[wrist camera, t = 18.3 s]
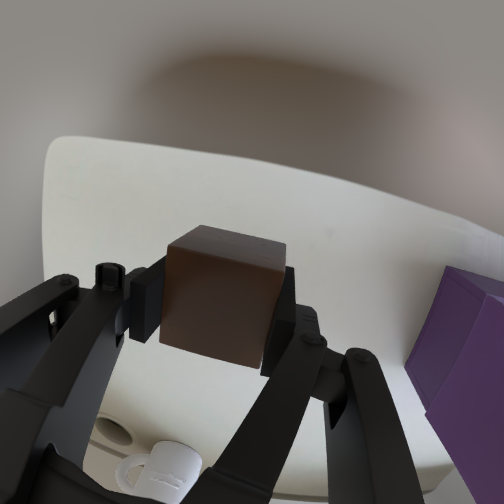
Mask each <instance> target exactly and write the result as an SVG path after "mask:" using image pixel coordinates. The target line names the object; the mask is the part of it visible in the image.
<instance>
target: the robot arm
mask: <svg viewBox="0 0 504 504" xmlns="http://www.w3.org/2000/svg"><path fill="white" fill-rule="evenodd" d="M166 256H167V255H166ZM166 256H164V257H163V258H161V259H160V260H159V261H157V262H156V263H154V264H153V265H152V266H150V267H149V268H145V267H140V268H137V269H134V270H132V271H131V272H129V273H128V274H126V275H125V267H124V266H122V265H120V264H117V263H109V262H108V263H101V264H98V265H96V273H95V285H94V287H93V288H92V289H87V288H80V287H79V279H78V278H77V277H75V276H73V275H70V274H62V275H57V276H54V277H53V278H51V279H49V280H47V281H45V282H43V283H42V284H40V285H38V286H36V287H34V288H33V289H31V290H29V291H27V292H25V293H24V294H22V295H20V296H18V297H17V298H15V299H13V300H12V301H10V302H8V303H6V304H5V305H3V306H1V307H0V504H166V503H163V502H160V501H157V500H154V499H152V498H145V497H139V496H133V495H128V494H123V493H118V492H114V491H109V490H107V489H105V488H103V487H102V486H101V485H99V484H98V483H97V482H95V481H94V480H93V479H92V478H90V477H89V476H88V475H87V474H86V473H85V472H83V460H84V456H85V452H86V449H87V446H88V442H89V439H90V436H91V433H92V429H93V426H94V423H95V420H96V417H97V414H98V411H99V408H100V405H101V402H102V399H103V396H104V393H105V391H106V388H107V385H108V382H109V380H110V377H111V374H112V371H113V369H114V366H115V363H116V361H117V358H118V356H119V353H120V351H121V348H122V345H123V343H124V332H125V331H126V330H127V329H128V328H129V338H130V339H133V340H136V341H139V342H142V343H145V342H146V341H147V340H148V339H149V337H150V336H151V335H152V334H153V333H154V331H155V330H156V329H157V328H158V326H159V325H160V323H161V309H162V297H163V286H164V276H165V264H166ZM52 312H54V322H53V323H50V319H49V315H50V314H51V313H52ZM260 375H261V376H266V377H270V378H269V380H268V381H267V383H266V385H265V386H264V388H263V390H262V391H261V393H260V395H259V396H258V398H257V400H256V401H255V403H254V404H253V406H252V408H251V409H250V411H249V413H248V414H247V416H246V417H245V419H244V420H243V422H242V424H241V425H240V427H239V428H238V430H237V431H236V433H235V435H234V436H233V438H232V439H231V441H230V442H229V444H228V445H227V447H226V448H225V450H224V451H223V453H222V454H221V456H220V457H219V459H218V460H217V461H216V463H215V464H214V465H213V466H212V467H208V468H207V469H205V470H204V472H203V473H202V474H201V475H200V477H199V478H198V479H197V481H196V482H195V483H194V485H193V486H192V487H191V489H190V490H189V491H188V493H187V494H186V495H185V497H184V498H183V499H182V501H181V502H180V503H179V504H269V501H270V499H271V497H272V494H273V489H274V487H275V484H276V482H277V480H278V478H279V475H280V473H281V471H282V468H283V466H284V464H285V461H286V459H287V457H288V454H289V452H290V449H291V447H292V444H293V442H294V439H295V437H296V434H297V432H298V429H299V426H300V424H301V421H302V418H303V416H304V413H305V410H306V407H307V405H308V402H309V399H310V396H311V397H314V398H316V399H319V400H321V401H324V404H323V408H324V421H325V435H326V451H327V470H328V496H329V504H425V503H424V499H423V495H422V491H421V488H420V484H419V480H418V477H417V473H416V470H415V466H414V463H413V460H412V456H411V453H410V450H409V447H408V443H407V440H406V437H405V434H404V431H403V428H402V425H401V422H400V419H399V416H398V413H397V410H396V407H395V405H394V402H393V399H392V396H391V393H390V391H389V388H388V385H387V382H386V380H385V377H384V374H383V372H382V369H381V367H380V364H379V361H378V359H377V358H376V356H375V355H374V354H372V353H371V352H370V351H367V350H366V349H361V348H350V349H348V350H347V351H346V353H345V355H343V354H340V353H337V352H335V351H333V350H331V349H329V348H327V340H326V339H325V337H323V336H322V335H321V334H320V330H319V324H318V319H317V313H316V311H315V310H314V309H313V308H312V307H309V306H304V305H300V304H296V300H295V276H294V268H293V267H288V266H285V276H284V280H283V284H282V287H281V291H280V295H279V298H278V300H277V304H276V308H275V312H274V316H273V319H272V323H271V327H270V331H269V334H268V338H267V342H266V345H265V349H264V354H263V360H262V366H261V373H260Z"/></svg>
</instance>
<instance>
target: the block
mask: <svg viewBox="0 0 504 504" xmlns="http://www.w3.org/2000/svg"><path fill="white" fill-rule="evenodd" d="M285 263H286V244H285V243H281V242H276V241H272V240H267V239H263V238H259V237H254V236H250V235H245V234H241V233H236V232H232V231H227V230H223V229H218V228H213V227H209V226H204V225H199V226H198V227H196V228H195V229H193V230H191V231H190V232H188V233H186V234H185V235H183V236H182V237H180V238H178V239H177V240H175V241H174V242H172V243H171V244H169V245H168V247H167V256H166V264H165V276H164V286H163V297H162V309H161V323H160V335H159V342H160V343H162V344H166V345H169V346H172V347H175V348H179V349H182V350H185V351H189V352H192V353H196V354H199V355H203V356H207V357H210V358H214V359H218V360H222V361H226V362H230V363H234V364H238V365H242V366H247V367H251V368H255V369H259V368H260V365H261V362H262V358H263V354H264V349H265V345H266V342H267V338H268V334H269V331H270V327H271V323H272V319H273V316H274V312H275V308H276V304H277V300H278V298H279V295H280V291H281V287H282V284H283V280H284V276H285Z"/></svg>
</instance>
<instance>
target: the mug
mask: <svg viewBox="0 0 504 504" xmlns="http://www.w3.org/2000/svg"><path fill="white" fill-rule="evenodd" d="M142 464H145V466H144V468H143V470H142V472H141V474H140V476H139V478H138V481H137V483H136V485H135V487H134V486H133V485H131V483H130V482H129V480H128V476H127V474H128V472H129V470H130V469H131V468H132V467H134V466H137V465H142ZM201 466H202V459H201V457H200V456H199V454H198V453H197V452H195V451H194V450H193V449H191V448H190V447H188V446H186V445H183V444H181V443H178V442H173V441H160V442H158V443H156V444H155V445H154V447H153V449H152V451H151V453H150V454H134V455H130V456H128V457H126V458H124V459H123V460H122V461H120V462H119V464H118V466H117V468H116V473H115V476H116V481H117V483H118V485H119V487H120V488H121V489H122V490H123V491H124V492H125V493H126V494H128V495H133V496H139V497H145V498H152V499H154V500H157V501H160V502H163V503H166V504H179V503H180V502H181V501H182V499H183V498H184V497H185V495H186V494H187V493H188V491H189V490H190V489H191V487H192V486H193V485H194V483H195V482H196V481H197V479H198V476H199V472H200V469H201Z"/></svg>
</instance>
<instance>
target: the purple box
mask: <svg viewBox="0 0 504 504" xmlns="http://www.w3.org/2000/svg"><path fill="white" fill-rule="evenodd" d="M487 295H490V296H493V297H494V298H496V299H497V300H499V301H500V302H502V303H503V304H504V282H501V281H498V280H495V279H491V278H488V277H485V276H481V275H478V274H475V273H471V272H468V271H464V270H461V269H457V268H454V267H450V266H446V269H445V271H444V274H443V277H442V280H441V283H440V286H439V288H438V291H437V294H436V296H435V299H434V302H433V304H432V307H431V309H430V312H429V314H428V317H427V319H426V321H425V324H424V326H423V328H422V330H421V333H420V335H419V337H418V339H417V341H416V344H415V346H414V348H413V350H412V352H411V354H410V356H409V358H408V360H407V362H406V364H405V366H404V368H405V370H406V372H407V374H408V376H409V378H410V380H411V382H412V384H413V386H414V388H415V390H416V392H417V394H418V396H419V398H420V400H421V402H422V404H423V406H424V408H425V410H426V411H427V410H428V408H429V407H430V405H431V404H432V402H433V401H434V399H435V398H436V396H437V394H438V393H439V391H440V390H441V388H442V386H443V385H444V383H445V381H446V380H447V378H448V376H449V374H450V373H451V371H452V369H453V367H454V365H455V363H456V362H457V360H458V358H459V356H460V354H461V352H462V350H463V348H464V346H465V344H466V342H467V340H468V338H469V336H470V334H471V332H472V329H473V327H474V325H475V323H476V320H477V318H478V316H479V314H480V311H481V309H482V306H483V304H484V301H485V299H486V296H487Z"/></svg>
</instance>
